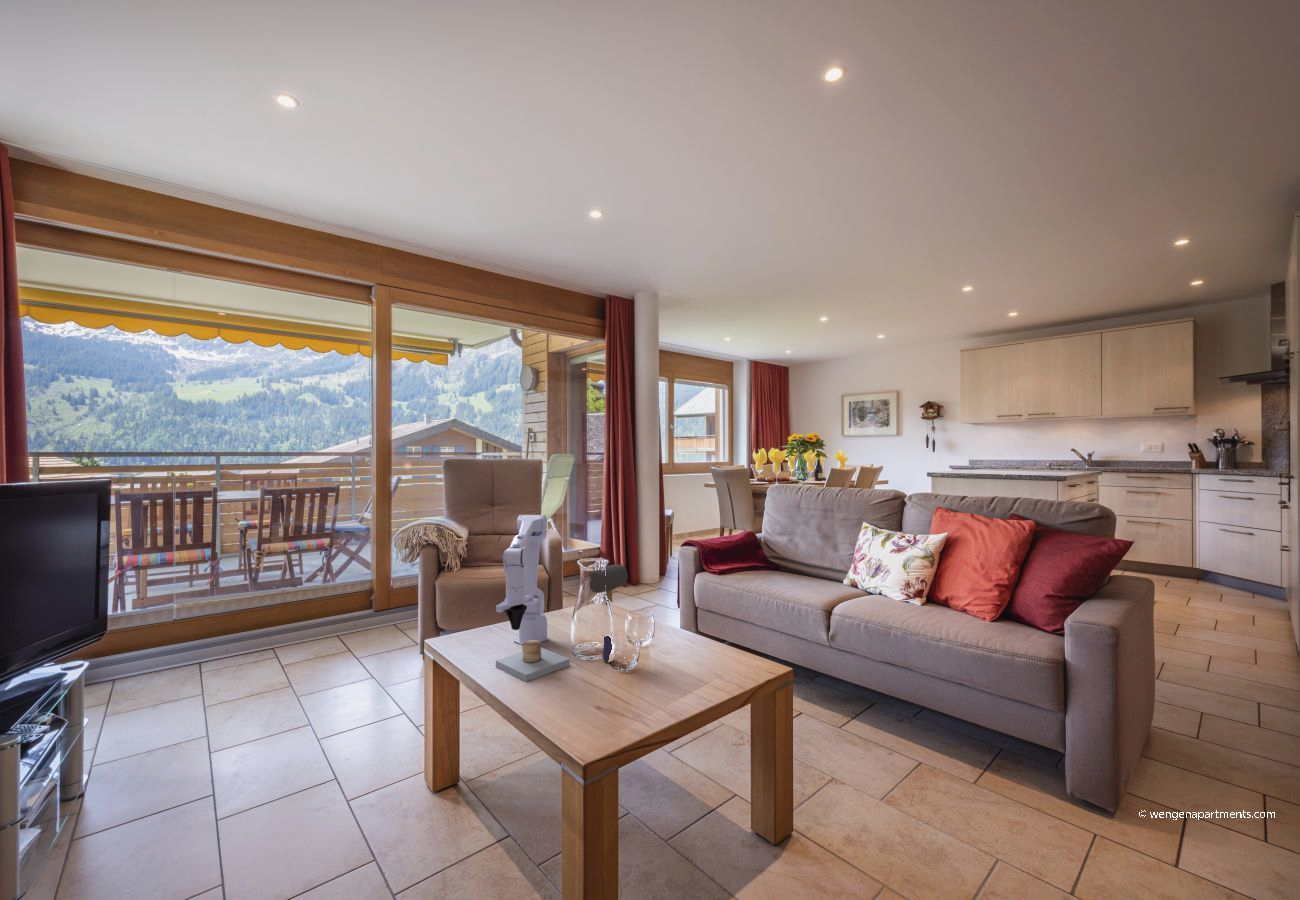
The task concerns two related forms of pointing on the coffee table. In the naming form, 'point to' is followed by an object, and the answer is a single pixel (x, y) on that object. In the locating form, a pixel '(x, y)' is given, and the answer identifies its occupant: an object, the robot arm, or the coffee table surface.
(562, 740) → the coffee table surface
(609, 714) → the coffee table surface
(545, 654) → the mortise board
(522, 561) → the robot arm
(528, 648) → the oak peg
